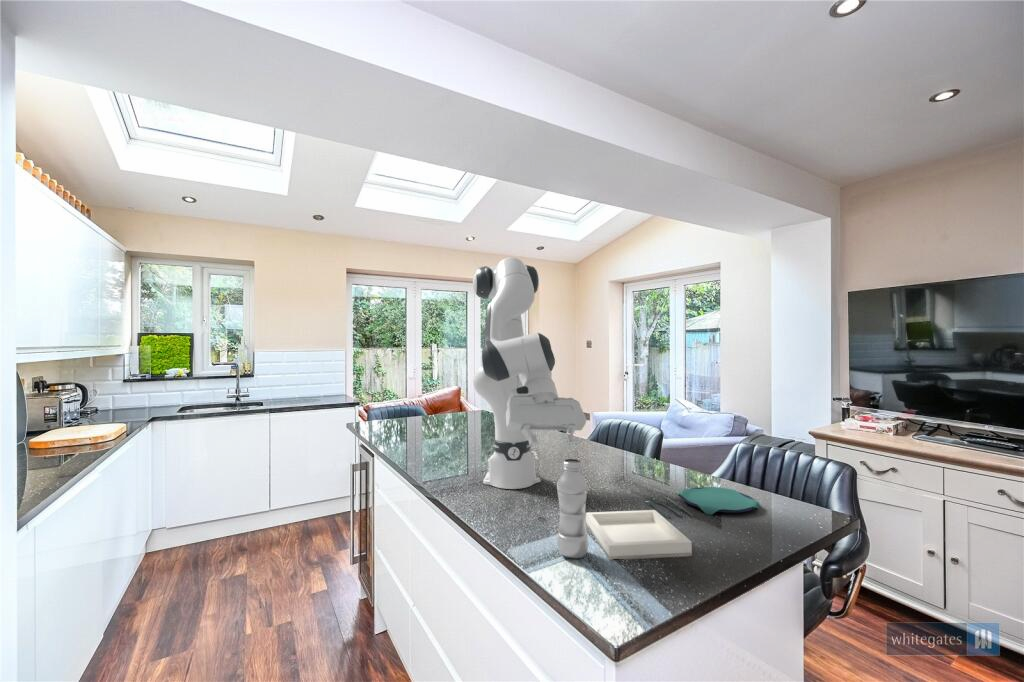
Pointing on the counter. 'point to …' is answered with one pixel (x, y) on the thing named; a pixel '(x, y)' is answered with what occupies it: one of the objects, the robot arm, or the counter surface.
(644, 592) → the counter surface
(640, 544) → the ceramic dish
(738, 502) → the cutlery set
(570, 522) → the plastic bottle
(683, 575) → the counter surface
